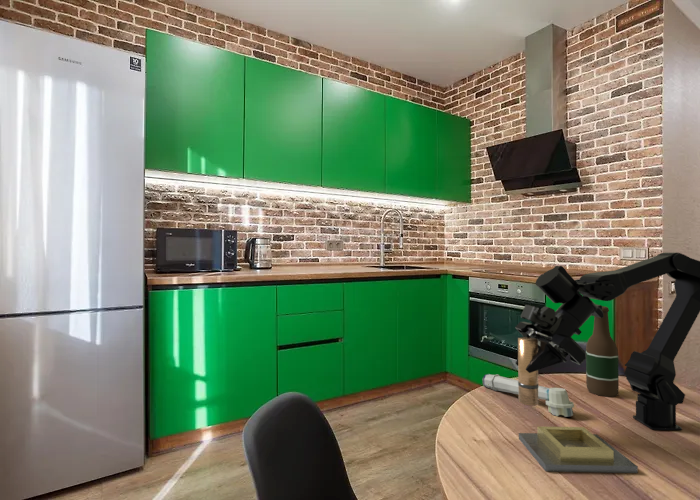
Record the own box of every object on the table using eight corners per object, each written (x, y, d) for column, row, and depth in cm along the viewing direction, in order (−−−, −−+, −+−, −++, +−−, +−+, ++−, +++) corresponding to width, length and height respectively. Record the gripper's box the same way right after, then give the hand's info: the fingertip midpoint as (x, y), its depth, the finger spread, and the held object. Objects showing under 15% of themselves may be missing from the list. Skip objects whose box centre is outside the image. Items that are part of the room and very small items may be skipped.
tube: (533, 398, 87) (533, 337, 87) (542, 405, 83) (541, 341, 83) (515, 398, 87) (514, 337, 87) (522, 405, 83) (522, 341, 83)
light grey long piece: (492, 371, 114) (575, 385, 92) (495, 395, 113) (579, 414, 91) (479, 374, 111) (562, 389, 90) (482, 398, 110) (567, 418, 89)
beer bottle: (590, 385, 112) (589, 304, 113) (622, 392, 107) (621, 306, 107) (582, 392, 107) (581, 306, 107) (614, 399, 101) (613, 309, 102)
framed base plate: (596, 440, 80) (596, 424, 80) (637, 473, 68) (637, 455, 68) (518, 438, 80) (518, 423, 80) (545, 471, 68) (545, 453, 68)
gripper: (522, 288, 95) (479, 334, 94) (571, 297, 76) (518, 354, 75) (553, 320, 95) (511, 365, 94) (609, 336, 77) (557, 393, 76)
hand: (522, 368), depth 85 cm, fingers closed on tube, 4 cm apart
